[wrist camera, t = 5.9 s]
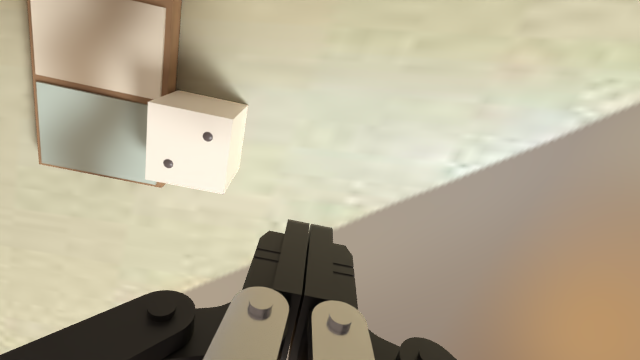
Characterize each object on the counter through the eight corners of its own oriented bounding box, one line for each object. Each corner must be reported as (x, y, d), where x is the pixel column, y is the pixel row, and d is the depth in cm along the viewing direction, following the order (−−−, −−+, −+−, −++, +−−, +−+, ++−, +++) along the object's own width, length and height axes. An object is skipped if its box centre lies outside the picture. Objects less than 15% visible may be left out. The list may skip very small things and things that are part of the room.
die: (248, 104, 21) (232, 119, 17) (239, 167, 22) (223, 195, 18) (177, 89, 20) (144, 101, 17) (172, 154, 22) (142, 179, 18)
